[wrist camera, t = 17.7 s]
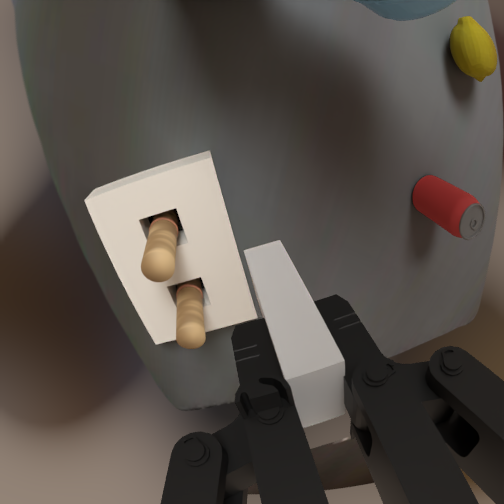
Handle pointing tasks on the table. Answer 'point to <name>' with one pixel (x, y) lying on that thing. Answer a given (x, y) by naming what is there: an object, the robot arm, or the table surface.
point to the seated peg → (161, 247)
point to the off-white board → (188, 243)
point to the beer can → (449, 207)
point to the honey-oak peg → (190, 314)
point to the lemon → (473, 49)
